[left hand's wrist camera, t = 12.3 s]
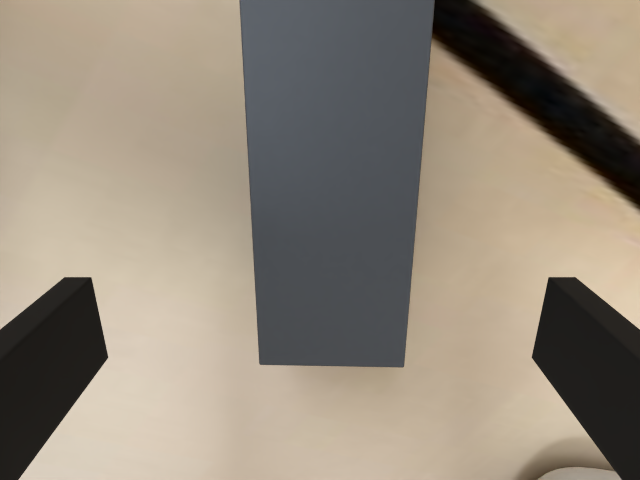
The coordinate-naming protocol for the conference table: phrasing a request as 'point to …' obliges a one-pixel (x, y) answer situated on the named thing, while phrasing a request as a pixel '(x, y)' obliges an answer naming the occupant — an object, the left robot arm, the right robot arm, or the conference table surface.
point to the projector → (580, 474)
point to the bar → (334, 173)
